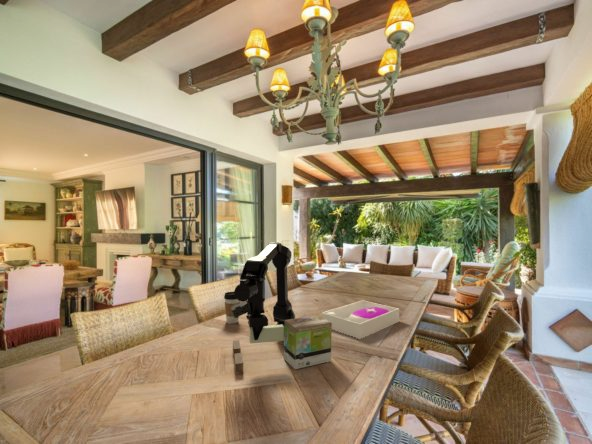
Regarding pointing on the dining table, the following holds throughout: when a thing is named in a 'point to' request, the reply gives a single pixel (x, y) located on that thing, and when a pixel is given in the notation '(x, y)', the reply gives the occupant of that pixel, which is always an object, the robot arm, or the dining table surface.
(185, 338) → the dining table surface
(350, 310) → the cream tray
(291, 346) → the tea box
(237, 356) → the walnut rail
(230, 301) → the coffee cup
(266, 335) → the pale green pillar
